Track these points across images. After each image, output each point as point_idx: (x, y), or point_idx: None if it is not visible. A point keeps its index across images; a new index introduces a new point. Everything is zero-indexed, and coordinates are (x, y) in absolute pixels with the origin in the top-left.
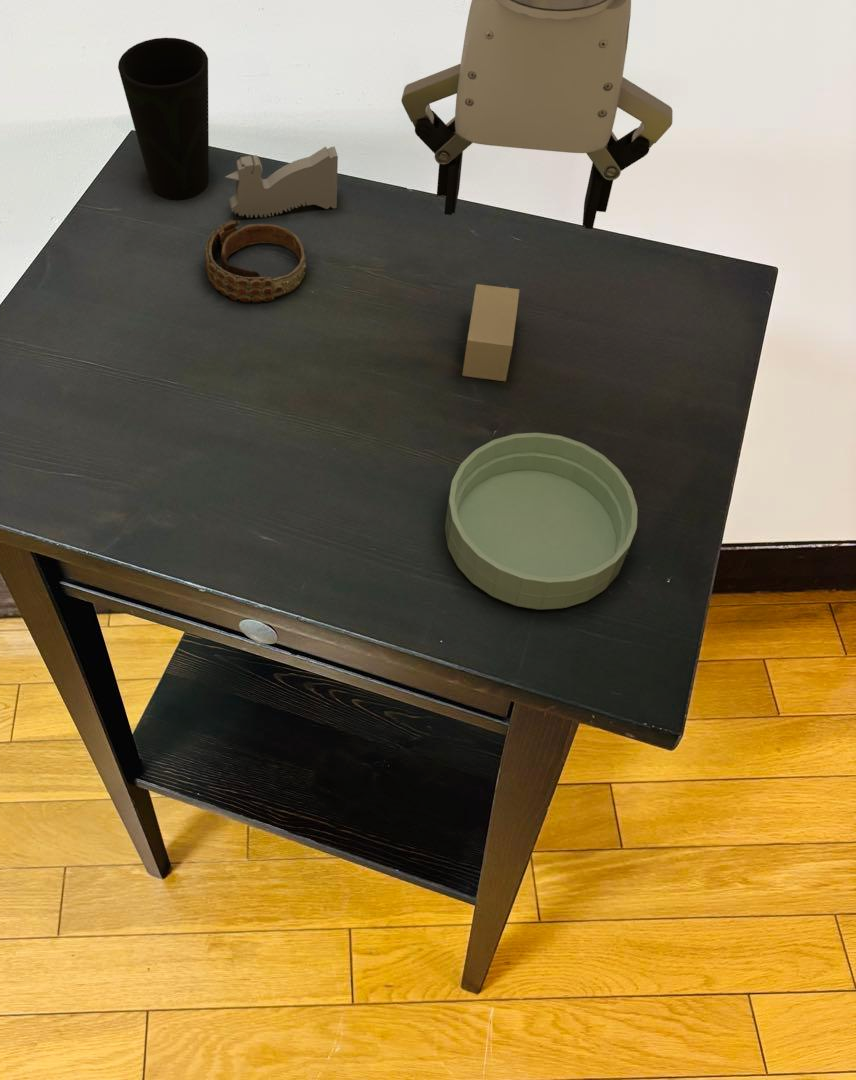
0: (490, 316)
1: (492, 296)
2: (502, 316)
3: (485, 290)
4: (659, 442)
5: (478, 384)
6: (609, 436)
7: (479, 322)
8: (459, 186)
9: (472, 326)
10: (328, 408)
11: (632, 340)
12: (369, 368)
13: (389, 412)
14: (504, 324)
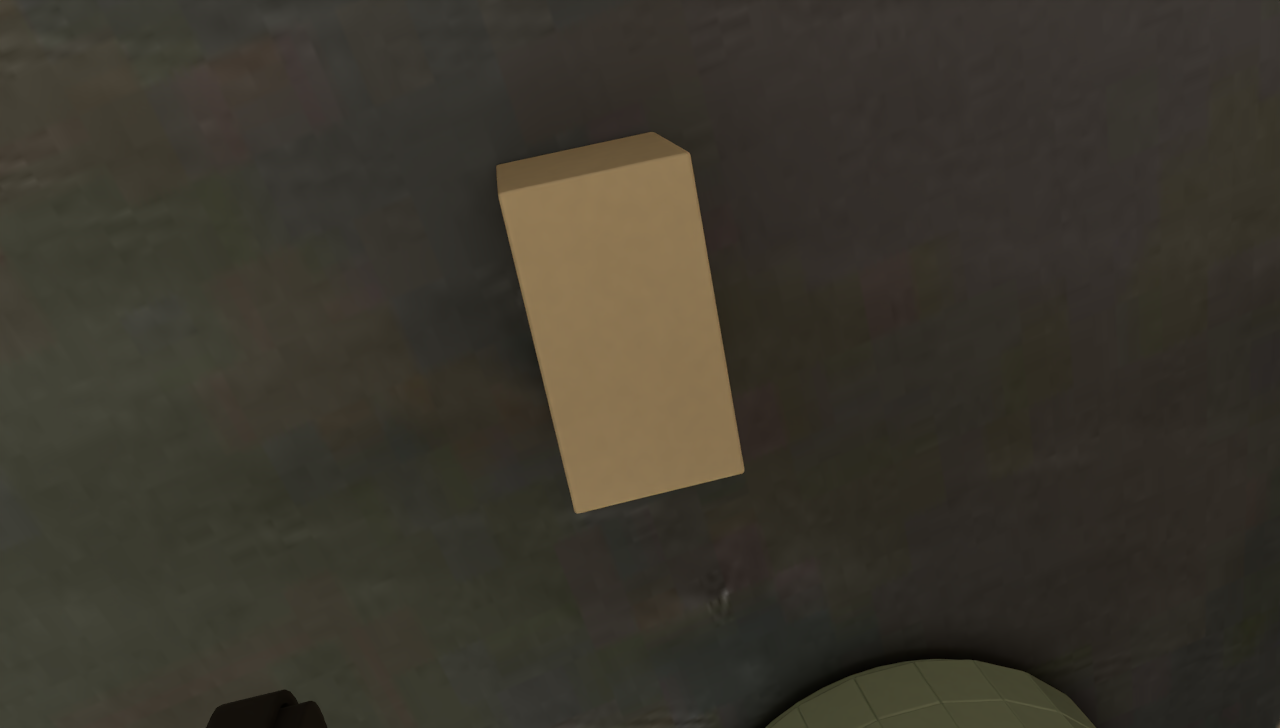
0: (621, 363)
1: (592, 246)
2: (666, 343)
3: (550, 217)
4: (1174, 440)
5: None
6: (1040, 476)
7: (589, 409)
8: (305, 703)
9: (570, 443)
10: None
11: (1078, 35)
12: (250, 528)
13: (400, 659)
14: (686, 382)
